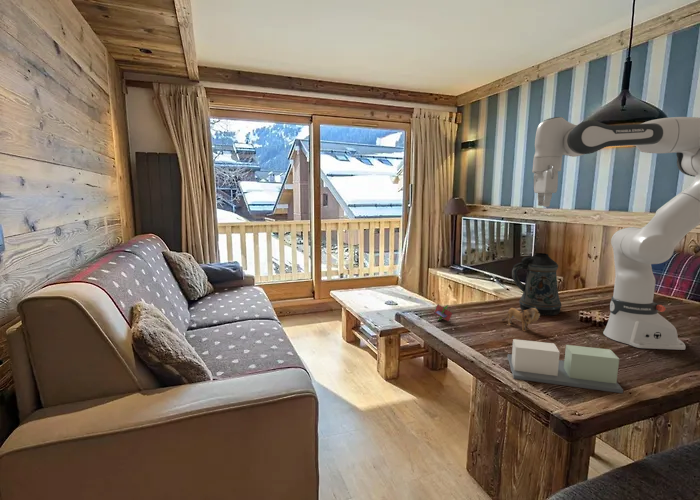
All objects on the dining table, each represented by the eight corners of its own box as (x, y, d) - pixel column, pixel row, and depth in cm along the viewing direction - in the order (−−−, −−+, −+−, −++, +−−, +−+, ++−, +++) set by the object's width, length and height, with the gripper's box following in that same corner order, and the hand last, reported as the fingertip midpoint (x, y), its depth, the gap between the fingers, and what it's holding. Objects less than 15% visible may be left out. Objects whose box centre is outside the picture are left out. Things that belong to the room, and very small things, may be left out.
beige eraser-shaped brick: (552, 366, 106) (554, 343, 105) (557, 375, 101) (559, 352, 100) (511, 361, 109) (513, 339, 108) (514, 370, 104) (516, 347, 103)
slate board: (602, 368, 107) (603, 365, 107) (622, 393, 94) (623, 389, 94) (507, 356, 114) (507, 353, 114) (513, 378, 101) (513, 375, 101)
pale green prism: (607, 373, 102) (610, 349, 101) (616, 383, 97) (619, 358, 96) (563, 367, 105) (566, 344, 104) (569, 377, 100) (572, 353, 99)
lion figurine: (540, 331, 135) (543, 308, 134) (533, 334, 133) (535, 311, 131) (505, 320, 148) (506, 298, 146) (497, 322, 145) (498, 300, 143)
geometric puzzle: (458, 315, 146) (448, 298, 148) (452, 320, 141) (441, 302, 143) (444, 323, 150) (434, 306, 152) (438, 327, 145) (427, 310, 147)
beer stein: (569, 314, 154) (575, 256, 151) (529, 317, 150) (534, 258, 147) (541, 303, 170) (546, 250, 166) (505, 305, 166) (509, 251, 162)
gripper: (565, 164, 116) (560, 207, 118) (550, 168, 136) (547, 205, 138) (543, 164, 118) (539, 207, 120) (531, 168, 137) (528, 205, 140)
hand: (543, 206), depth 129 cm, fingers open, 8 cm apart
